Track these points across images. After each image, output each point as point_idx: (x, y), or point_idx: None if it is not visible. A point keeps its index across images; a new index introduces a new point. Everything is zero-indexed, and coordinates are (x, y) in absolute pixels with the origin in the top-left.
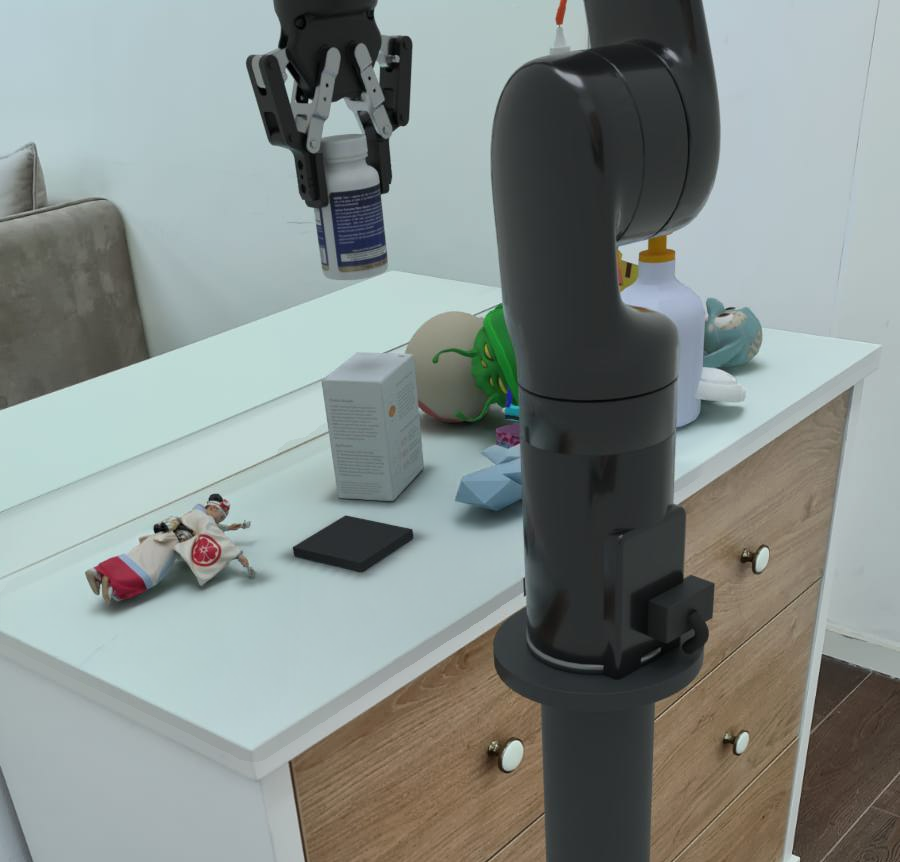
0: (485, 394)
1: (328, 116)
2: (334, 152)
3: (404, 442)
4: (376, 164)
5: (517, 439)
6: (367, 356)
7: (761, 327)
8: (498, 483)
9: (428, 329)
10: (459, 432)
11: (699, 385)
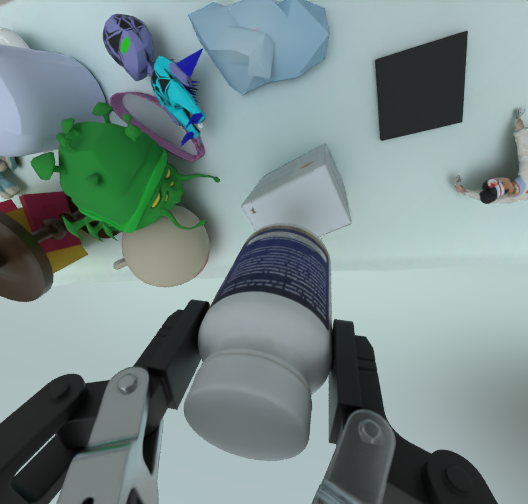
0: None
1: (317, 491)
2: (299, 391)
3: (290, 167)
4: (188, 343)
5: None
6: None
7: None
8: (303, 3)
9: (172, 267)
10: (199, 210)
11: None
